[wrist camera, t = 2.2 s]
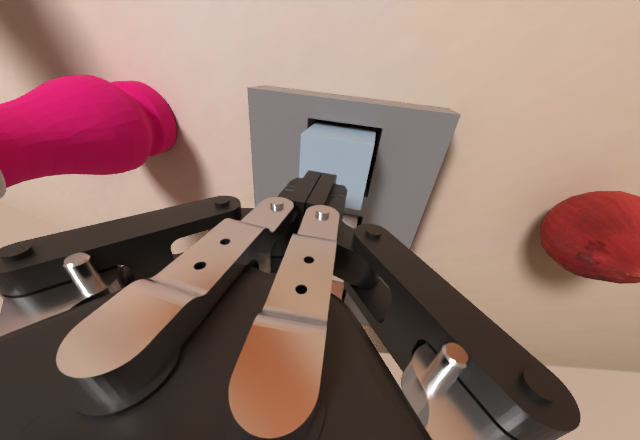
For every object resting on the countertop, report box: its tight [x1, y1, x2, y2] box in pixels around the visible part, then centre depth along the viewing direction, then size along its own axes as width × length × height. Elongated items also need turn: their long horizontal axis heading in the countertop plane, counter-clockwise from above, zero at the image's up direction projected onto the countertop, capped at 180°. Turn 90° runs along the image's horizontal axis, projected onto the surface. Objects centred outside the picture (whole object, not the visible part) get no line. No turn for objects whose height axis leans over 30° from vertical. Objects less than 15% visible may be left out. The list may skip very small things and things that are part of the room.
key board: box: [248, 86, 460, 326], centre depth 23 cm, size 14×22×3 cm, turn 174°
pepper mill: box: [0, 75, 177, 198], centre depth 14 cm, size 7×7×20 cm
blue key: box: [299, 122, 376, 210], centre depth 17 cm, size 4×4×4 cm
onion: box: [540, 191, 640, 283], centre depth 16 cm, size 6×6×8 cm
